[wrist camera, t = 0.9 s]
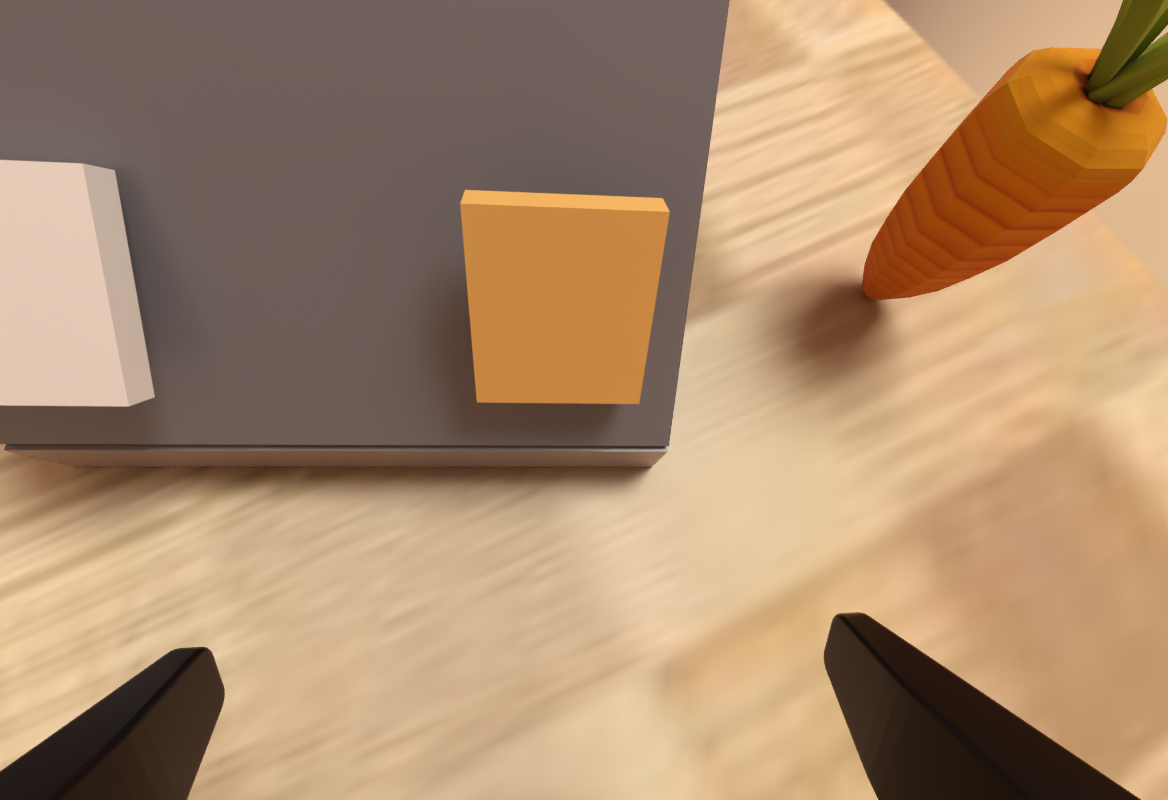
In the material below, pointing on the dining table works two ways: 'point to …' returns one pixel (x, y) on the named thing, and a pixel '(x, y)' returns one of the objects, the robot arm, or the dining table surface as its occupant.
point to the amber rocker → (561, 294)
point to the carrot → (1028, 159)
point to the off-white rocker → (67, 290)
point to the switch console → (353, 211)
